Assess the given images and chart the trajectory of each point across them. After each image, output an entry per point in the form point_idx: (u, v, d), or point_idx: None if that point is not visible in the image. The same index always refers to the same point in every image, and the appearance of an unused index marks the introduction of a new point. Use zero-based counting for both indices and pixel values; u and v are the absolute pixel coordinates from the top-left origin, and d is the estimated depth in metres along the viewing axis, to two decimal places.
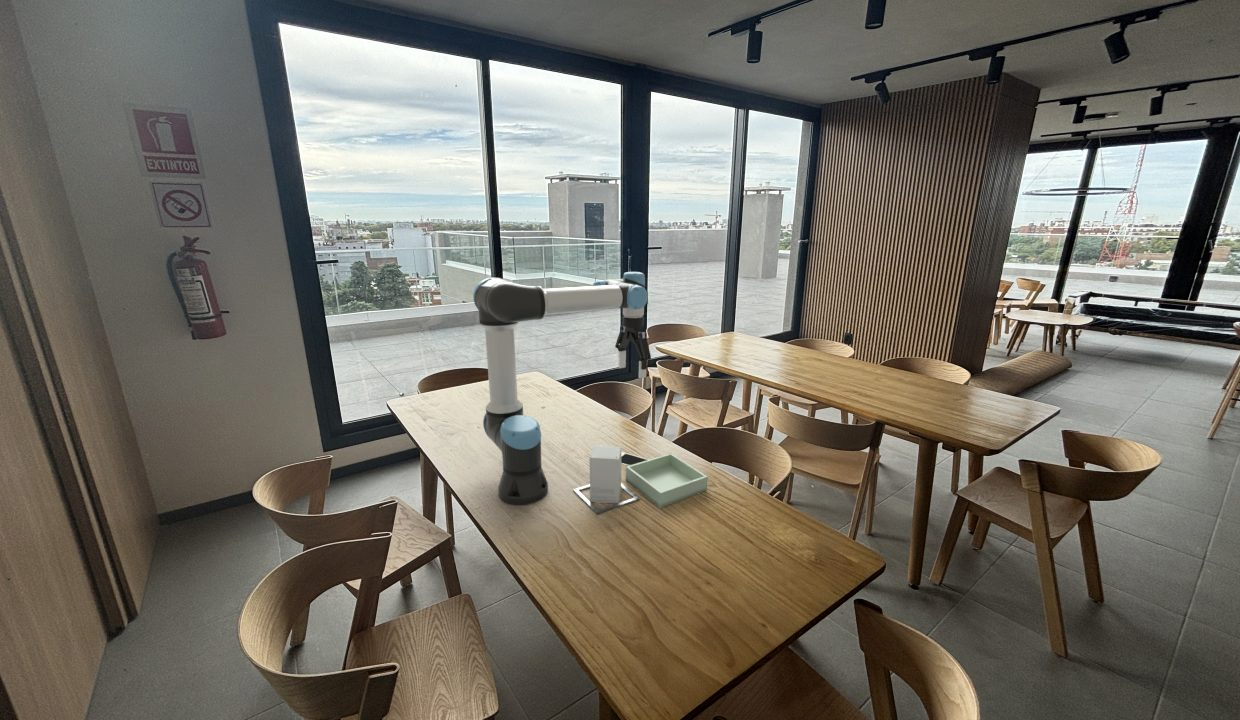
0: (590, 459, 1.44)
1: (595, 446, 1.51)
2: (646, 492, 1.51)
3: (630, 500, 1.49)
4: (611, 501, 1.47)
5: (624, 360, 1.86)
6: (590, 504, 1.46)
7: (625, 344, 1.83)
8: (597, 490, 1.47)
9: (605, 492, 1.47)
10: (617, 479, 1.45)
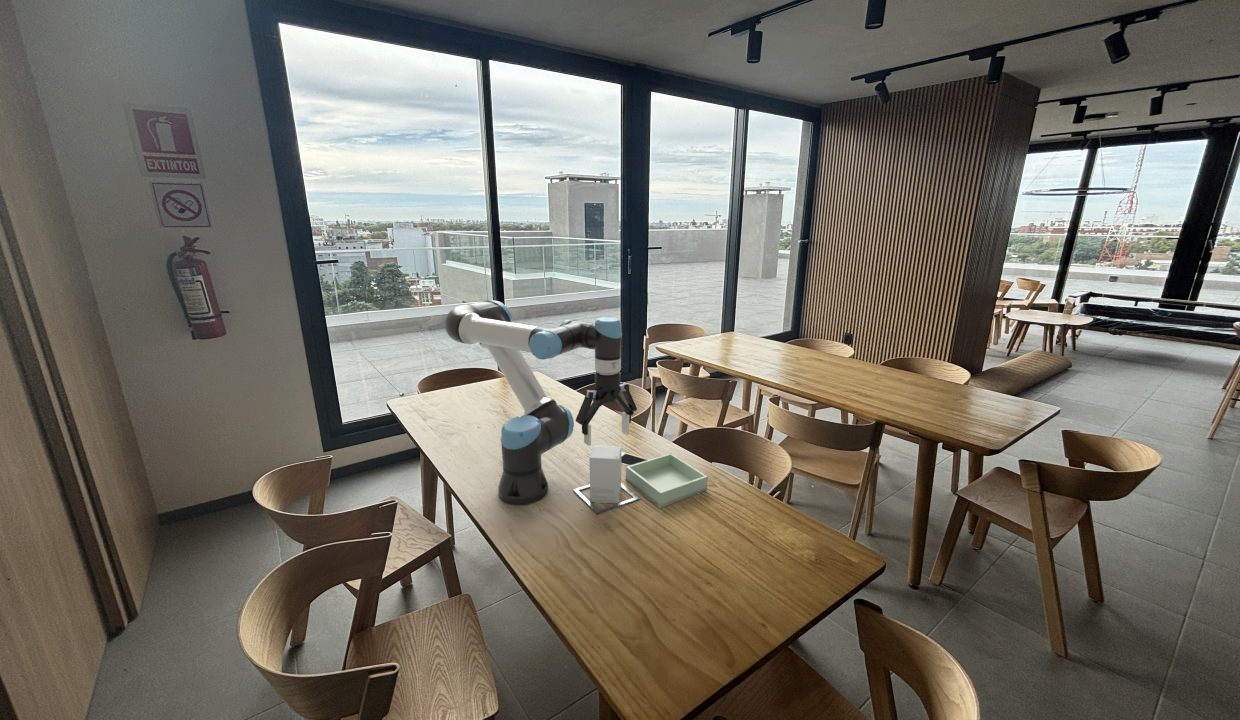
0: (590, 459, 1.44)
1: (595, 446, 1.51)
2: (646, 492, 1.51)
3: (630, 500, 1.49)
4: (611, 501, 1.47)
5: (625, 425, 1.50)
6: (590, 504, 1.46)
7: (621, 405, 1.48)
8: (597, 490, 1.47)
9: (605, 492, 1.47)
10: (617, 479, 1.45)
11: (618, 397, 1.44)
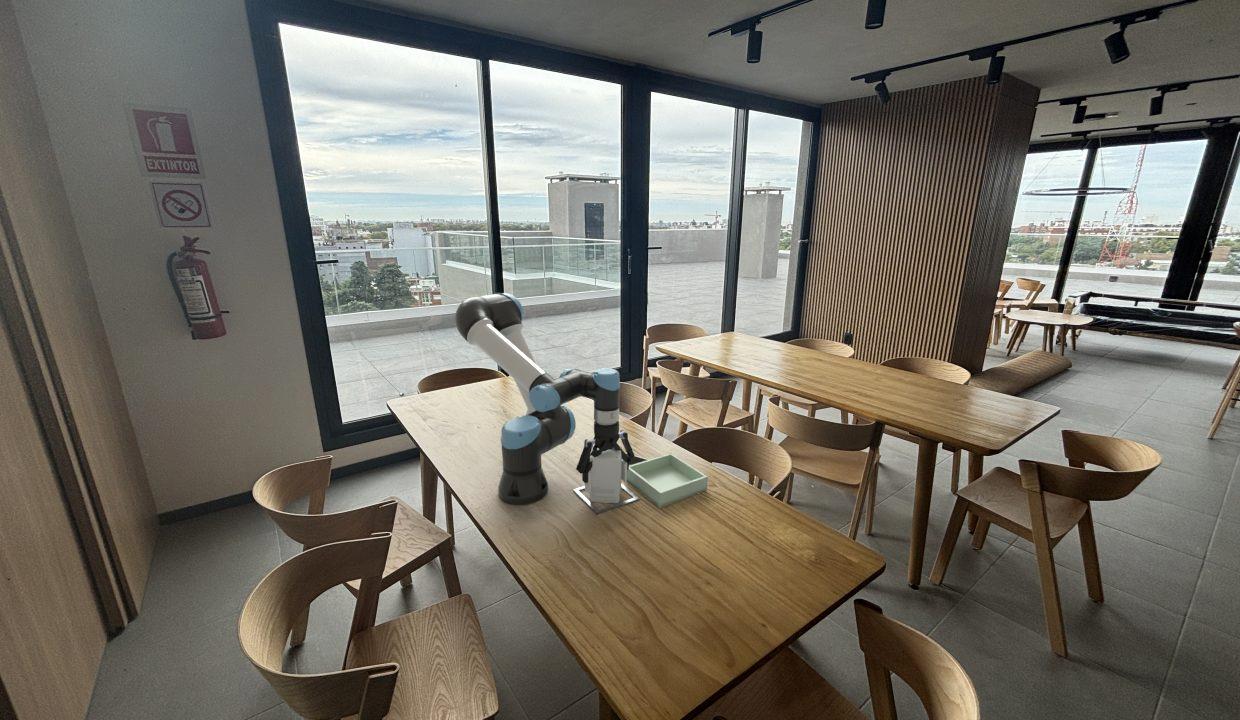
0: (590, 459, 1.44)
1: None
2: (646, 492, 1.51)
3: (630, 500, 1.49)
4: (611, 501, 1.47)
5: (623, 473, 1.53)
6: (590, 504, 1.46)
7: None
8: (597, 490, 1.47)
9: (606, 492, 1.47)
10: (617, 479, 1.45)
11: (616, 445, 1.47)
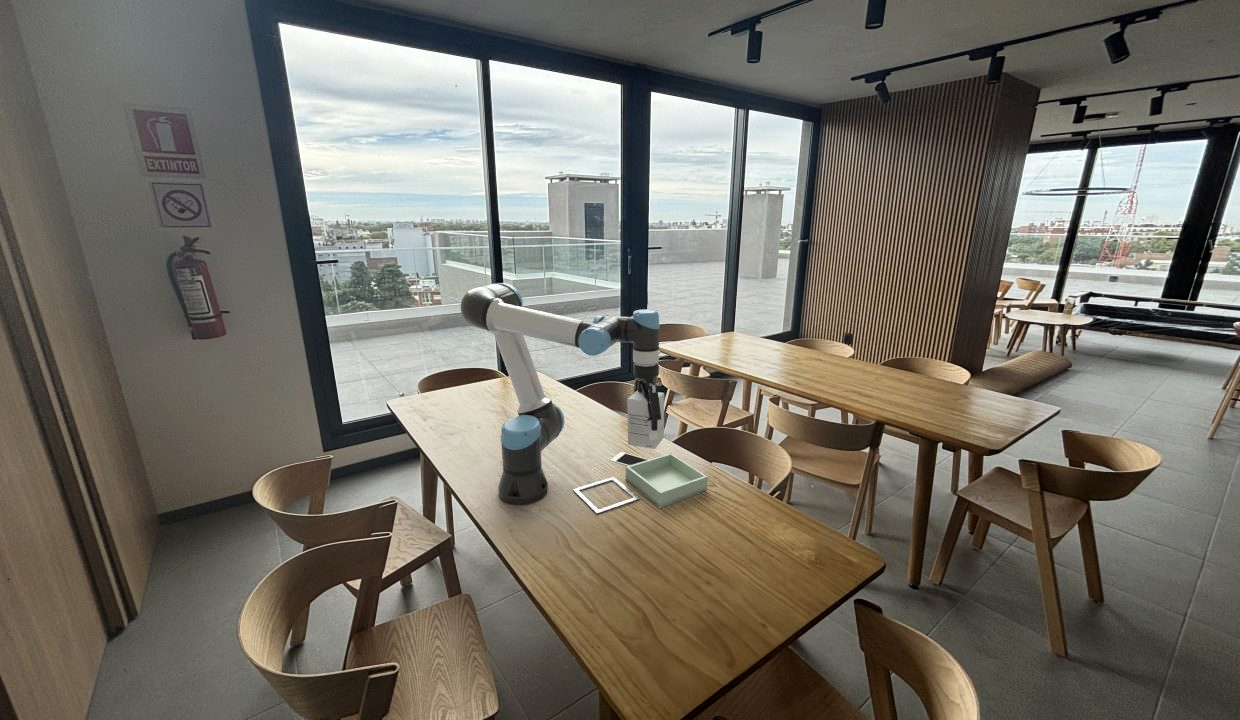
0: None
1: (631, 398, 1.44)
2: (646, 492, 1.51)
3: (630, 500, 1.49)
4: (662, 438, 1.50)
5: None
6: (590, 504, 1.46)
7: None
8: None
9: (660, 431, 1.48)
10: (663, 413, 1.50)
11: None
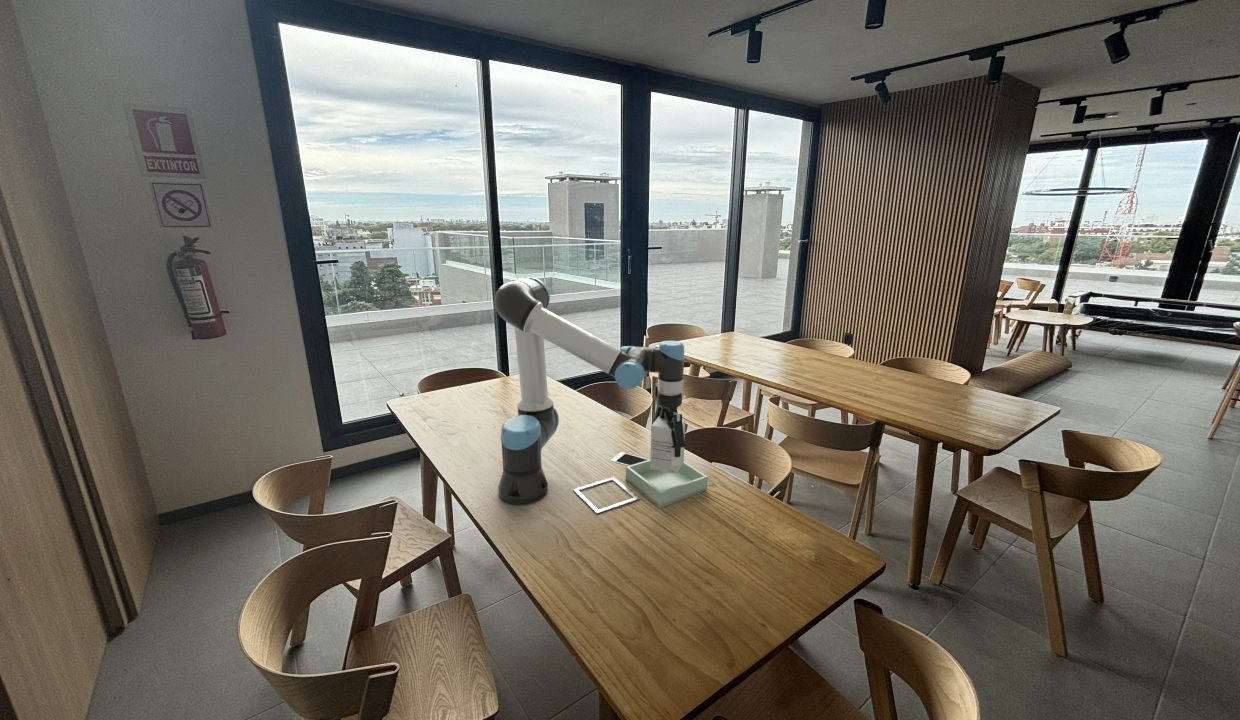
0: None
1: (655, 425, 1.50)
2: (646, 492, 1.51)
3: (630, 500, 1.49)
4: (682, 462, 1.57)
5: None
6: (590, 504, 1.46)
7: None
8: None
9: (681, 456, 1.54)
10: (684, 438, 1.56)
11: None
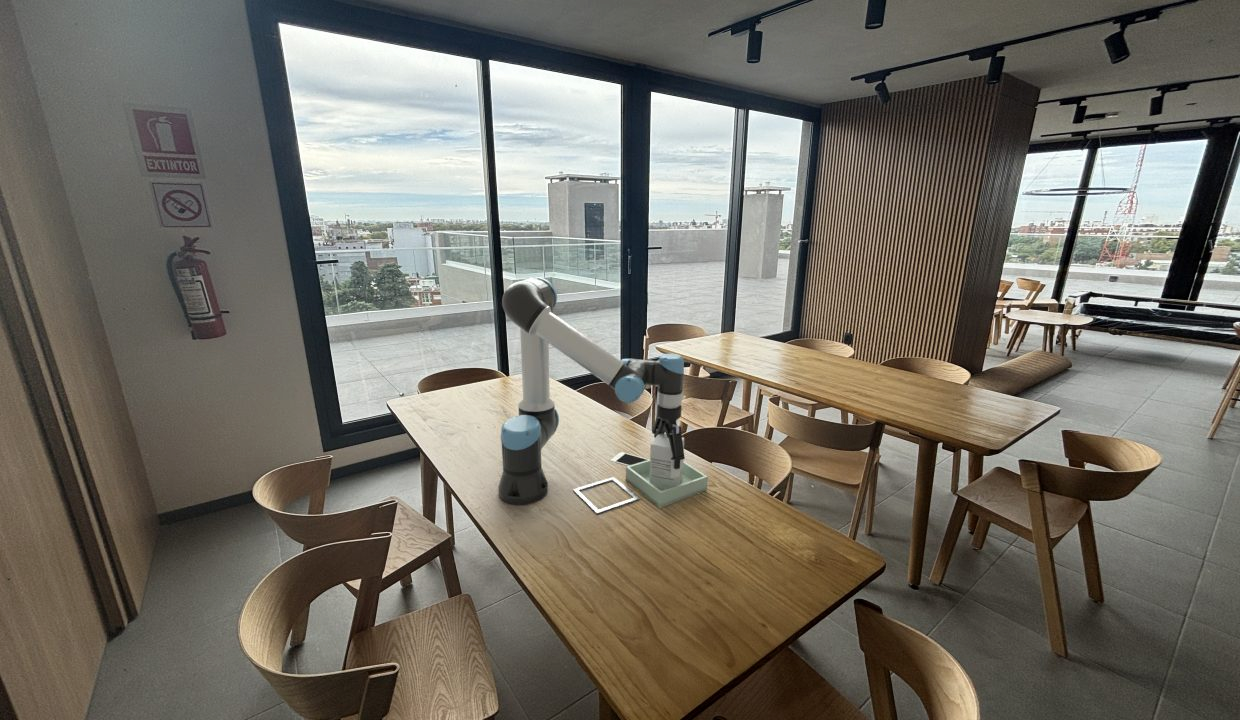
0: None
1: (654, 444, 1.51)
2: (646, 492, 1.51)
3: (630, 500, 1.49)
4: (681, 480, 1.58)
5: None
6: (590, 504, 1.46)
7: (661, 432, 1.58)
8: (678, 477, 1.53)
9: (680, 474, 1.56)
10: None
11: None
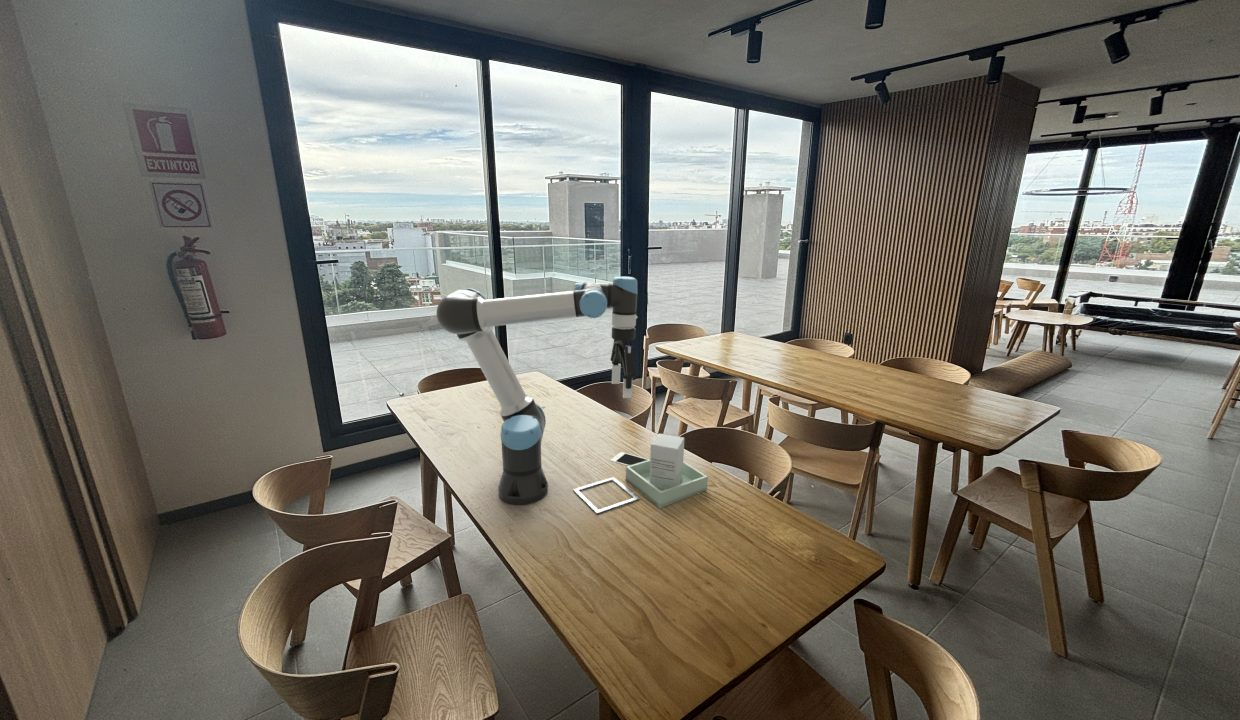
0: (677, 450, 1.49)
1: (654, 444, 1.51)
2: (646, 492, 1.51)
3: (630, 500, 1.49)
4: (681, 480, 1.58)
5: (618, 375, 1.65)
6: (590, 504, 1.46)
7: (618, 358, 1.62)
8: (678, 477, 1.53)
9: (680, 474, 1.56)
10: (683, 456, 1.58)
11: None
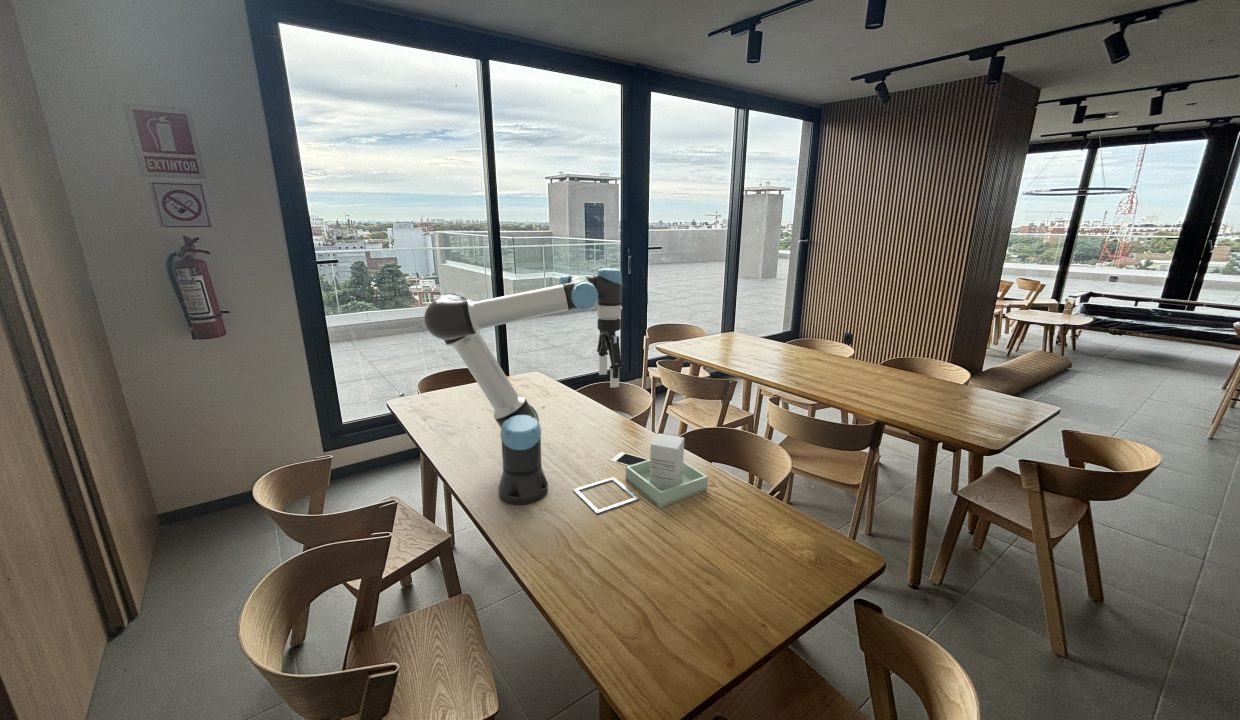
0: (677, 450, 1.49)
1: (654, 444, 1.51)
2: (646, 492, 1.51)
3: (630, 500, 1.49)
4: (681, 480, 1.58)
5: (605, 366, 1.68)
6: (590, 504, 1.46)
7: (605, 348, 1.65)
8: (678, 477, 1.53)
9: (680, 474, 1.56)
10: (683, 456, 1.58)
11: None
